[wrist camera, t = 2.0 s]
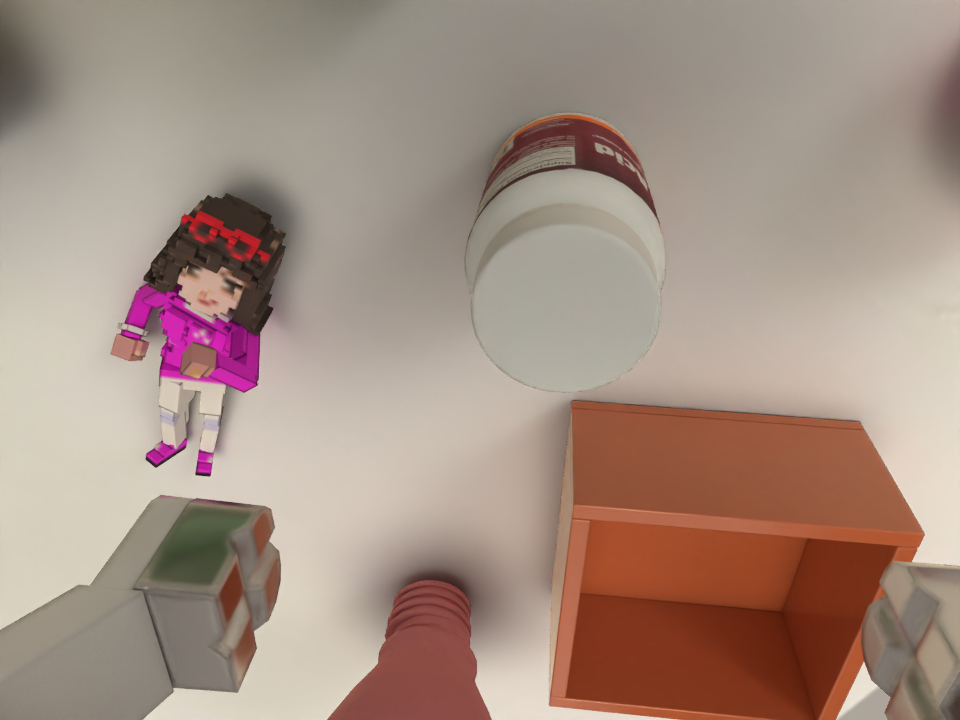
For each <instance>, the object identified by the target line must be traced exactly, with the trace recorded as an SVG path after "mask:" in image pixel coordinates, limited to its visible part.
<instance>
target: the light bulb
mask: <svg viewBox="0 0 960 720" xmlns="http://www.w3.org/2000/svg"><path fill="white" fill-rule="evenodd" d="M470 613H471V605H470V603H469V600H468V598H467V597H466V596H465V595H464V593H463V592H462V591H461V590H459V589H458V588H456V587H454V586H452V585H451V584H449V583H446V582H442V581H438V580H422V581H418V582H413V583H411V584H409V585H407V586H405V587H404V588H403V589H402V590H401V591H399V592H398V594H397V595H396V597H395V599H394V604H393V609H392V612H391V614H390V617H389V618H388V625H387V629H386V634H385V638H386V641H385V642H384V644H383V645H382V647H381V650H380V652H379V659H378V664H377V665H376V666H375V668H374V669H373V670H372V671H371V672H370V673H369V674H368V675H367V676H366V677H364V678H363V679H362V680H361V681H360V682H359V683H358V684H357V685H356V686H355V687H354V688H353V690H352V691H351V692H350V693H349V694H348V695H347V697H346V698H345V699H344V700H343V701H342V703H341V704H340V705H339V706H338V707H337V708H336V710H335V711H334V712H333V713H332V714H331V716H330V717H329V718H328V719H327V720H491V717H490V714H489V712H488V710H487V707H486V705H485V703H484V701H483V699H482V697H481V695H480V692H479V690H478V688H477V686H476V683H475V678H476V674H477V660H476V658H475V655H474V653H473V651H472V650H471V648H470V637H471V625H470Z"/></svg>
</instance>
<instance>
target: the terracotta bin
mask: <svg viewBox="0 0 960 720" xmlns="http://www.w3.org/2000/svg"><path fill="white" fill-rule="evenodd" d="M924 535H925V534H924V531H923V530H922V528H921V526H920V524H919V523H918V521H917V519H916V518H915V516H914V514H913V512H912V511H911V509H910V507H909V505H908V504H907V502H906V500H905V499H904V497H903V495H902V493H901V492H900V490H899V488H898V486H897V485H896V483H895V481H894V480H893V478H892V476H891V474H890V473H889V471H888V469H887V467H886V466H885V464H884V462H883V460H882V459H881V457H880V455H879V454H878V452H877V450H876V448H875V447H874V445H873V443H872V441H871V440H870V438H869V436H868V435H867V433H866V431H864V428H863V426H862V424H861V422H856V421H842V420H829V419H815V418H802V417H788V416H775V415H761V414H748V413H734V412H721V411H707V410H694V409H680V408H667V407H653V406H640V405H627V404H613V403H600V402H586V401H572V402H571V411H570V420H569V429H568V438H567V447H566V457H565V466H564V475H563V484H562V493H561V503H560V512H559V521H558V530H557V539H556V549H555V558H554V567H553V576H552V585H551V614H550V667H549V706H554V707H563V708H573V709H582V710H592V711H602V712H611V713H621V714H630V715H640V716H650V717H659V718H669V719H678V720H836V718H837V716H838V714H839V712H840V710H841V708H842V706H843V704H844V701H845V699H846V697H847V695H848V693H849V691H850V689H851V687H852V685H853V683H854V681H855V679H856V676H857V674H858V672H859V670H860V668H861V666H862V664H863V662H864V658H863V653H862V648H861V626H862V621H863V619H864V616H865V614H866V611H867V608H868V606H869V605H870V604H872V603H874V602H875V601H877V600H878V599H880V598H882V597H883V596H885V593H884V591H883V589H882V587H881V585H880V583H879V581H880V579H881V577H882V574H883V572H884V570H885V568H886V567H887V566H888V565H890V564H891V563H892V562H893V561H902V562H912V560H913V558H914V556H915V554H916V552H917V548H918V547H919V546H920V544H921V542H922V539H923V537H924Z"/></svg>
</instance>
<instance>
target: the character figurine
mask: <svg viewBox="0 0 960 720" xmlns="http://www.w3.org/2000/svg"><path fill="white" fill-rule="evenodd" d="M271 217H272V216H271V215H269V214H267V213H265V212H263V211H261V210H260V209H259V208H257V207H255V206H253V205H251V204H249V203H247V202H245V201H243V200H241V199H239V198H235V197H233V196H231V195H229V194H227V193H226V195H225V196H224V197H223V198H222V199H221V198H220V199H219V198H217V197H215V198H213V197H211V196H209V195H208V196H207V197H206V198H205V200H204V201H202V200H201V201H200V203H199V204H198V205H197V206H196V207H195V208H194V209H193V210H192V212H191V213H190V214H189V215H186V214H184V215H183V217H182V219H181V223H180V226H179V227H178V229H177V230H176V231H175V232H174V233H173V235H172V236H171V237H170V238H169V240H168V241H167V244H166V246H165V247H164V248H163V249H162V251H161V252H160V253H159V254H158V255H157V257H156V258H155V259H154V260H153V262H152V263H151V268H150V270H149V271H148V272H147V273H146V275H145V276H144V281H147V282H149V283H148V284H146V285H144V286H143V287H141V288H140V289H139V290H137V292H136V294H135V297H134V300H133V302H132V305H131V308H130V310H129V313H128V316H127V318H126V321H125V323H118V326H117V328H119V329H121V330H122V331H121V334H116V338H115V341H114V344H113V348H112V351H111V354H112V355H115V356H117V357H120V358H123V359H125V360H128V361H137V360H142V358H143V357H145V355H146V352H147V349H148V345H149V342H147V341H144V340H141V337H142V336H143V337H148V335H149V332H148V331H146V330H144V329H145V327H146V324H147V321H148V319H149V316H150V313H151V310H152V308H153V307H155V308H160V307H162V306H164V308H163V311H161V312H160V313H159V316H158V317H159V318H161V319H162V320H163V322H162V326H161V328H163V334H165V335H166V336H167V339H166V341H167V342H166V343H165V345H164V346H163V347H162V350H161V355H160V356H162V357H163V358H162V362H161V366H160V376H159V386H160V395H159V407H161V415H160V419H161V428H162V437H163V440H162V441H161V442H159V443H158V444H156V445H155V447H154V449H153V450H151V451H150V452H148V453H146V460H147V461H148V462H149V463H151V464H152V465H153V466H154V467H155V468H157V467H158V466H160V465H161V464H163V463H164V462H166V461H167V460H169V459H170V458H172V457H173V456H175V455H176V454H178V453H179V452H181V451H182V450H184V449H185V448H186V444H187V440H188V439H186V436H187V427H186V423H187V422H188V420H189V411H188V407H189V402H190V401H191V400H192V399H193V398H194V395H195V391H201V399H200V410H199V414H203V415H205V418H204V428H203V433H202V437H201V440H200V446H199V451H198V452H199V454H198V460H197V467H196V474H195V475H199V476H210V475H211V469H212V462H213V455H214V448H215V444H216V440H217V436H218V431H219V427H220V423H221V418H222V413H223V408H224V407H223V403H224V395H225V389H226V385H228V386H230V387H233V388H235V389H237V390H239V391H242V392H246V391H248V390H250V389H252V388H254V387H256V386H257V385H258V384H257V381H258V379H259V353H260V332H261V330H262V329H263V327H264V325H265V323H266V322H267V320H268V318H269V316H270V314H271V313H272V311H273V308H272V307H270V306H268V304H269V301H270V299H271V296H272V295H271V294H269V292H270V290H271V287H272V285H273V282H274V280H275V279H274V277H275V275H276V273H277V272H278V269H279V267H280V264H281V261H282V257H283V254H284V252H285V251H284V250H285V246H283V245H282V242H283V240H284V237H285V234H286V233H284V232H282V231H280V230H278V229H276V228H274V227H273V225H272V224H270V223H271V221H270V220H271Z"/></svg>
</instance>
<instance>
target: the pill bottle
mask: <svg viewBox="0 0 960 720" xmlns="http://www.w3.org/2000/svg"><path fill="white" fill-rule="evenodd" d="M465 271H466V278H467V282H468V286H469V289H470V292H471V295H472V296H471V317H472V323H473V328H474V331H475V335H476V337H477V339H478V341H479V343H480V345H481V347H482V349H483V350H484V352H485V354H486V355H487V356H488V357H489V359H490V360H491V361H492V362H493V363H494V364H495V365H496V366H497V367H498V368H499V369H500V370H502V371H503V372H504V373H505V374H507V375H508V376H510V377H511V378H513V379H515V380H517V381H518V382H520V383H522V384H525V385H527V386H530V387H533V388H536V389H540V390H543V391H549V392H562V393H567V392H580V391H586V390H591V389H594V388H597V387H601V386H603V385H606V384H608V383H611V382H613V381H614V380H616V379H618V378H620V377H621V376H623V375H624V374H625V373H627V372H628V371H630V370H631V369H632V368H633V367H634V366H635V365H636V364H637V363H638V362H639V361H640V360H641V359H642V358H643V356H644V355H645V354H646V353H647V351H648V350H649V348H650V346H651V344H652V342H653V340H654V338H655V336H656V333H657V330H658V327H659V322H660V315H661V297H660V292H661V289H662V286H663V282H664V278H665V271H666V246H665V241H664V237H663V234H662V231H661V227H660V222H659V220H658V217H657V213H656V210H655V206H654V203H653V199H652V196H651V193H650V189H649V187H648V183H647V180H646V177H645V175H644V171H643V169H642V166H641V162H640V160H639V158H638V155H637V153H636V152H635V150H634V148H633V146H632V145H631V144H630V142H629V141H628V140H627V139H626V137H625V136H624V135H623V134H622V133H621V132H620V131H619V130H618V129H616V128H615V127H614V126H612V125H611V124H610V123H608V122H606V121H604V120H602V119H600V118H597V117H595V116H591V115H588V114H583V113H576V112H563V113H554V114H549V115H546V116H542V117H540V118H537V119H535V120H532V121H530V122H529V123H527V124H525V125H523V126H522V127H520V128H519V129H518V130H516V131H515V132H514V133H513V134H512V135H511V136H510V137H509V138H508V139H507V141H506V142H505V143H504V144H503V146H502V147H501V148H500V150H499V152H498V153H497V155H496V157H495V159H494V162H493V164H492V167H491V170H490V173H489V176H488V179H487V182H486V186H485V188H484V191H483V194H482V198H481V201H480V204H479V208H478V211H477V214H476V218H475V221H474V224H473V227H472V229H471V232H470V234H469V237H468V242H467V246H466V254H465Z"/></svg>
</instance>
